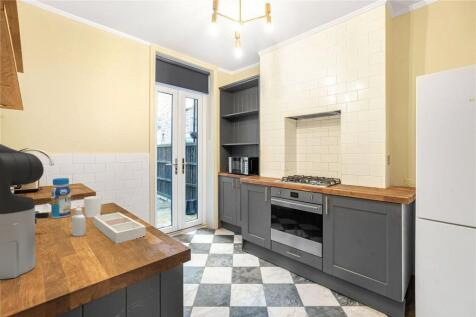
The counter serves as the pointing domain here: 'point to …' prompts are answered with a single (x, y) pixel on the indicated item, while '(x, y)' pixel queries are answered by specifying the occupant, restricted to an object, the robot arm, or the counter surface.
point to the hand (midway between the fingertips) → (42, 218)
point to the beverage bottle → (60, 198)
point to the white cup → (92, 206)
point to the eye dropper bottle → (78, 223)
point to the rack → (119, 227)
